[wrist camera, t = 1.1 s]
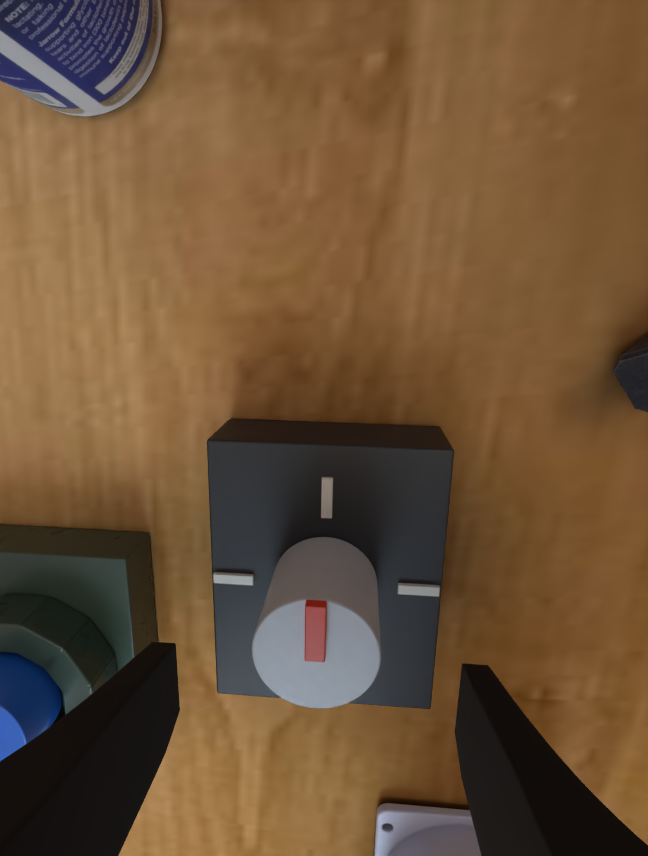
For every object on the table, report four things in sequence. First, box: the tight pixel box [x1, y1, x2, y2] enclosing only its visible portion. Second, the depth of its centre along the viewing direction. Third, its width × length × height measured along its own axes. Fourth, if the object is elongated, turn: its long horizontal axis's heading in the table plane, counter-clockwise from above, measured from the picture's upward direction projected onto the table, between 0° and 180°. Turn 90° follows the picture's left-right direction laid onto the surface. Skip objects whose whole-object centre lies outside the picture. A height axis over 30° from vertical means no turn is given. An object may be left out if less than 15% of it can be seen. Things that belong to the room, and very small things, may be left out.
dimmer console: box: [207, 419, 454, 709], centre depth 19 cm, size 10×8×3 cm
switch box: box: [0, 525, 158, 727], centre depth 20 cm, size 10×8×4 cm
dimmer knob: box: [252, 537, 381, 708], centre depth 15 cm, size 4×4×4 cm
